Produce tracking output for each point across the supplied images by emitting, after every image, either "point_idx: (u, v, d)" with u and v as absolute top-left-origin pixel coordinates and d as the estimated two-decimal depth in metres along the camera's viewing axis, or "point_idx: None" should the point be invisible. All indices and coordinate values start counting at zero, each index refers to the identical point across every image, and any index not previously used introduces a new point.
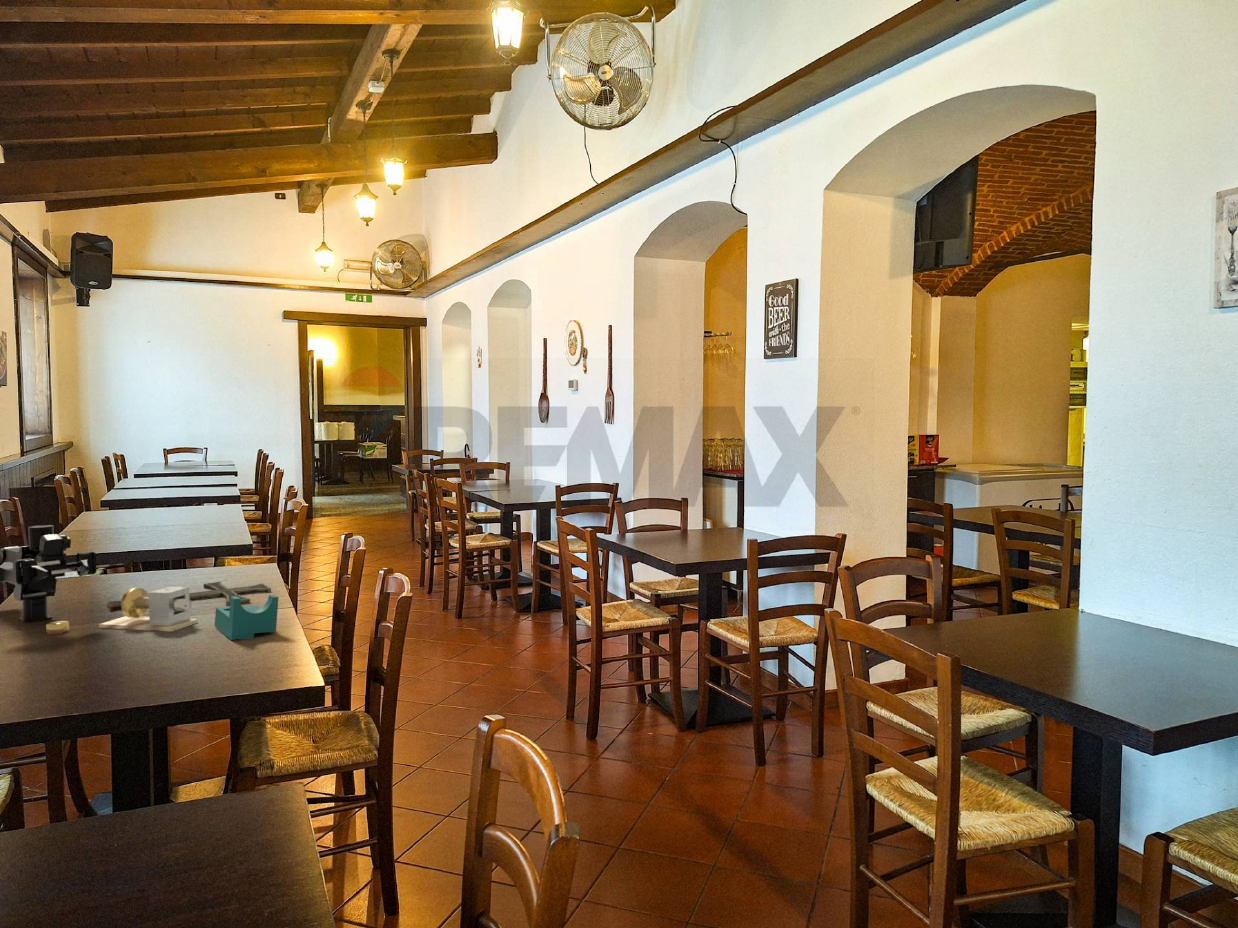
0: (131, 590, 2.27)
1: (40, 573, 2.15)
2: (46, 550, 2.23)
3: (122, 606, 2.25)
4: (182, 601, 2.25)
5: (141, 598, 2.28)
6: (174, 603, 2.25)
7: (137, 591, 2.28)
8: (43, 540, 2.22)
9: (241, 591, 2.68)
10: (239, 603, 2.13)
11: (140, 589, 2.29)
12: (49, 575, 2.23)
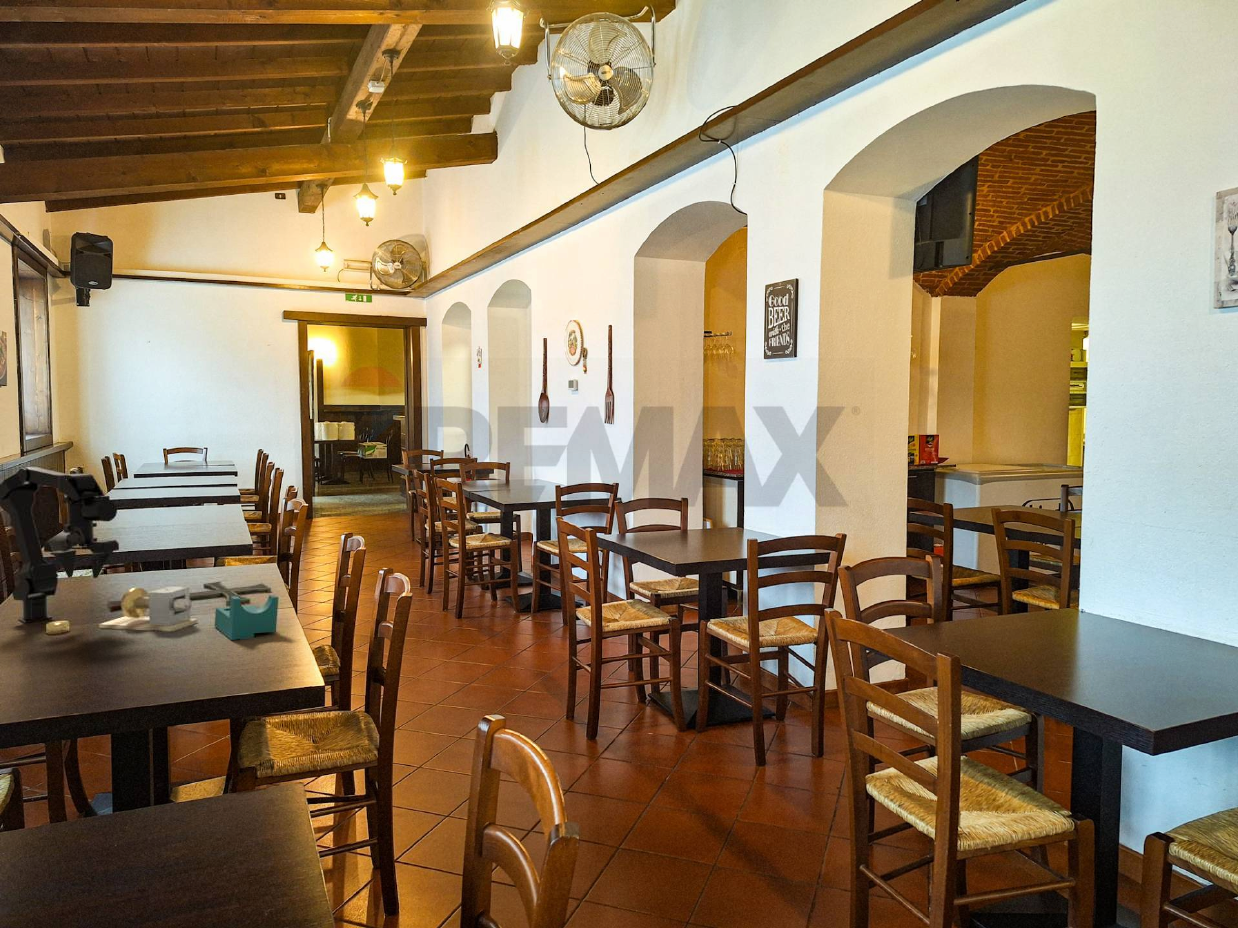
0: (131, 590, 2.27)
1: None
2: None
3: (122, 606, 2.25)
4: (182, 601, 2.25)
5: (141, 598, 2.28)
6: (174, 603, 2.25)
7: (137, 591, 2.28)
8: None
9: (241, 591, 2.68)
10: (239, 603, 2.13)
11: (140, 589, 2.29)
12: None
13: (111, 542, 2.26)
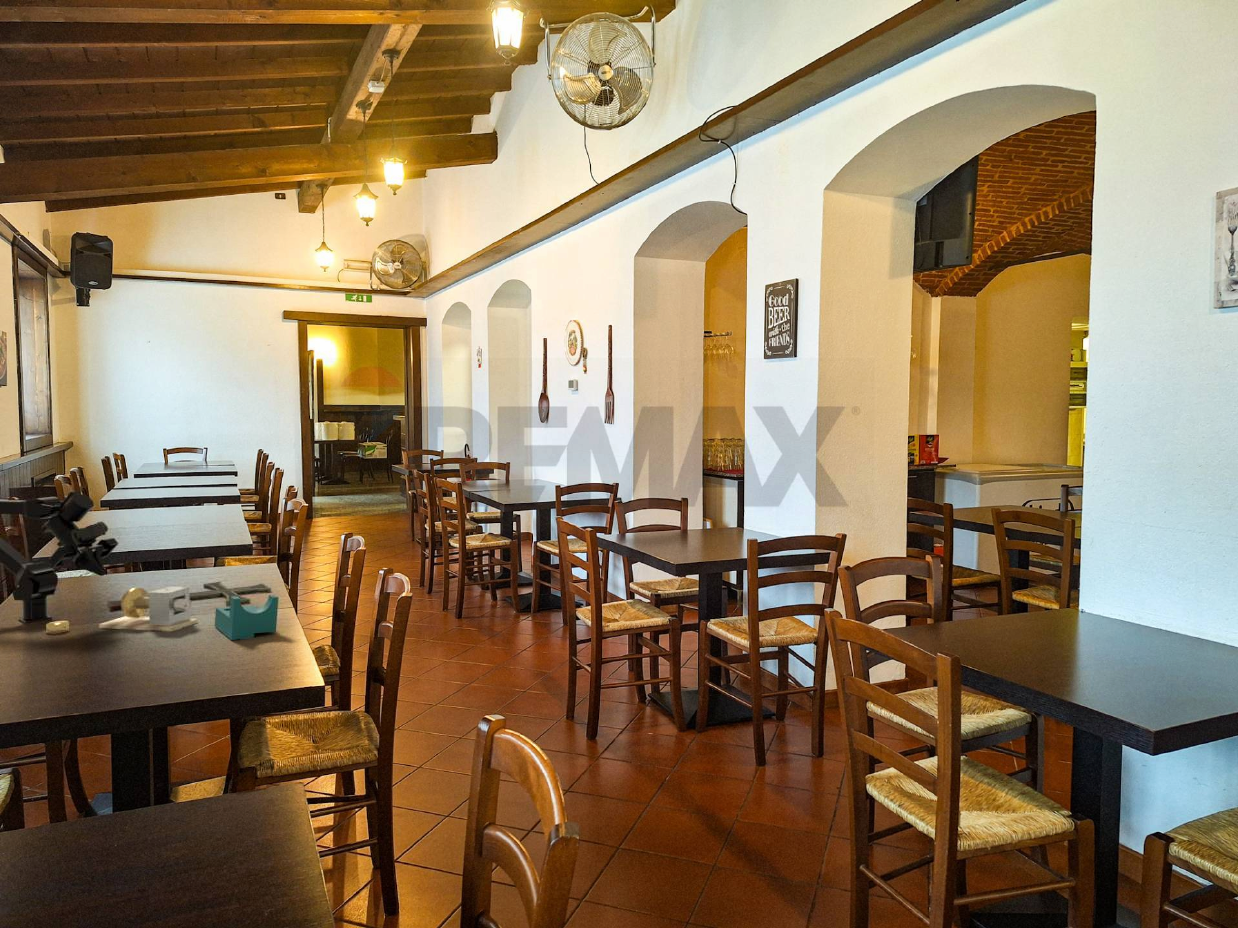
0: (131, 590, 2.27)
1: (95, 569, 2.29)
2: (86, 538, 2.29)
3: (122, 606, 2.25)
4: (182, 601, 2.25)
5: (141, 598, 2.28)
6: (174, 603, 2.25)
7: (137, 591, 2.28)
8: (91, 532, 2.28)
9: (241, 591, 2.68)
10: (239, 603, 2.13)
11: (140, 589, 2.29)
12: None
13: None
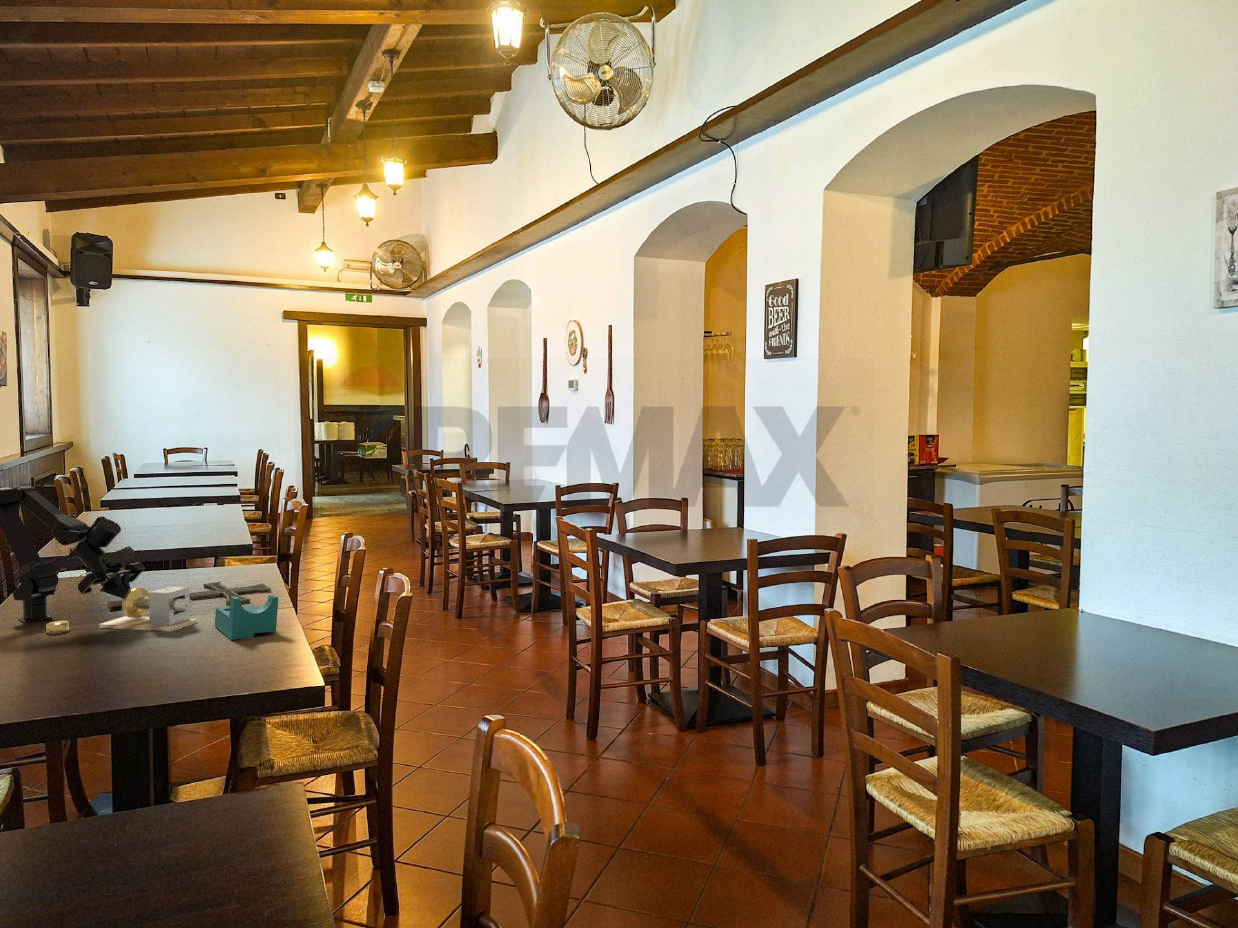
0: (132, 590, 2.27)
1: (123, 594, 2.28)
2: (114, 564, 2.28)
3: (123, 606, 2.25)
4: (183, 601, 2.25)
5: (142, 598, 2.28)
6: (175, 603, 2.25)
7: (138, 591, 2.28)
8: (119, 557, 2.26)
9: (241, 591, 2.68)
10: (239, 603, 2.13)
11: (141, 589, 2.29)
12: None
13: None
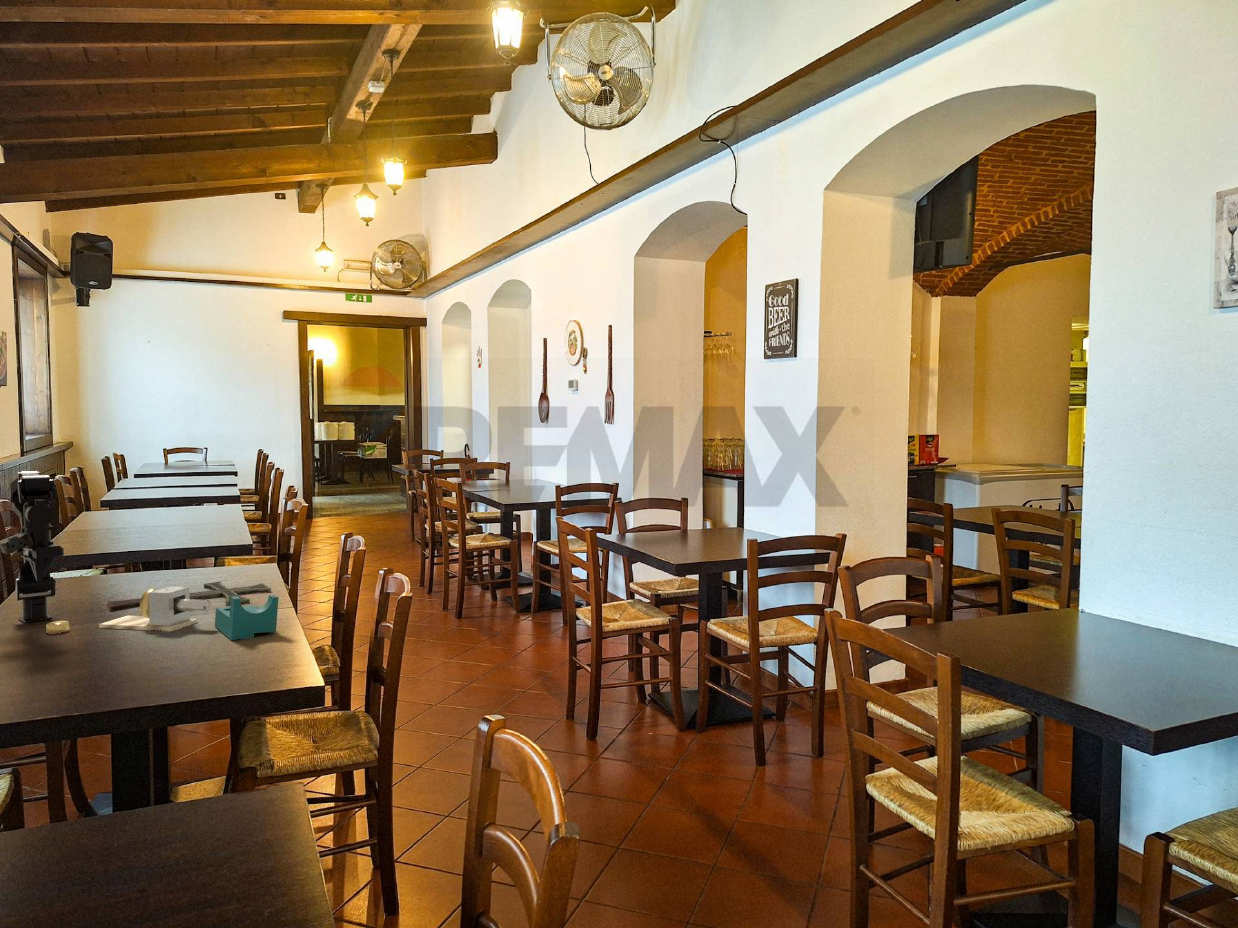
0: (150, 591, 2.26)
1: None
2: None
3: (141, 607, 2.24)
4: (201, 602, 2.24)
5: None
6: (193, 604, 2.24)
7: None
8: None
9: (241, 591, 2.68)
10: (239, 603, 2.13)
11: None
12: None
13: (51, 548, 2.17)
